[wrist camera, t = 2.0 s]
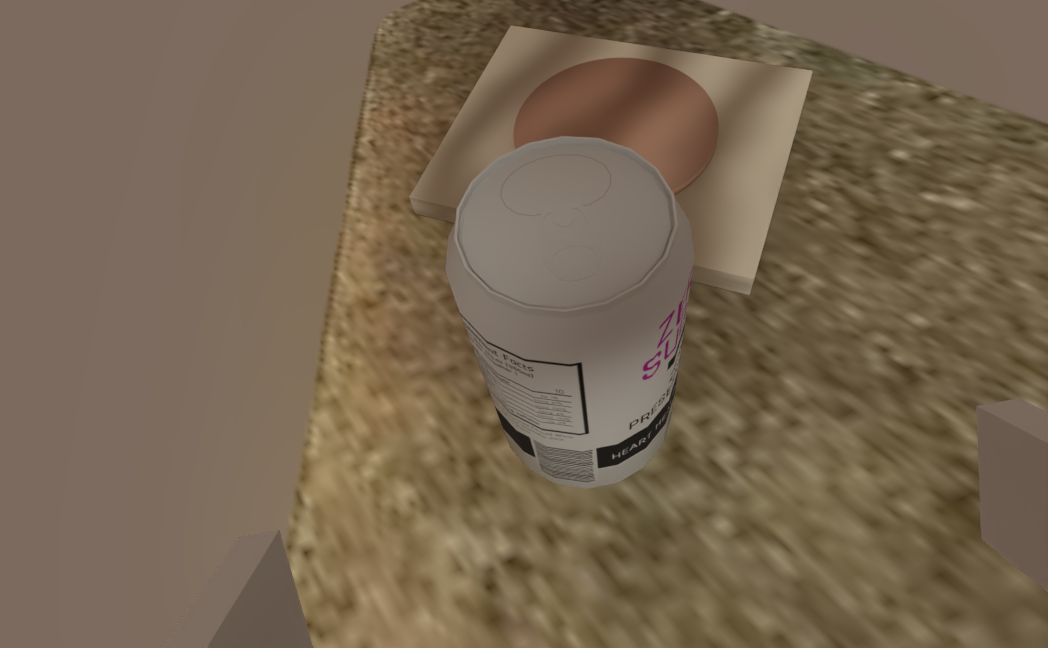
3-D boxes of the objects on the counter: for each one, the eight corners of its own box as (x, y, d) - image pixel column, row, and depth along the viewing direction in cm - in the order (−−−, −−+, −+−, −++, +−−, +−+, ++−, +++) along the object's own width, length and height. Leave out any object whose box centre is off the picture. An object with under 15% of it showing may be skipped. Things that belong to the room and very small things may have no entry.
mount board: (807, 90, 44) (815, 62, 42) (749, 295, 37) (756, 272, 35) (513, 43, 50) (509, 17, 48) (415, 213, 43) (406, 190, 41)
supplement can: (492, 356, 37) (423, 151, 24) (647, 326, 37) (660, 102, 24) (515, 507, 33) (447, 354, 20) (690, 473, 32) (734, 297, 20)
